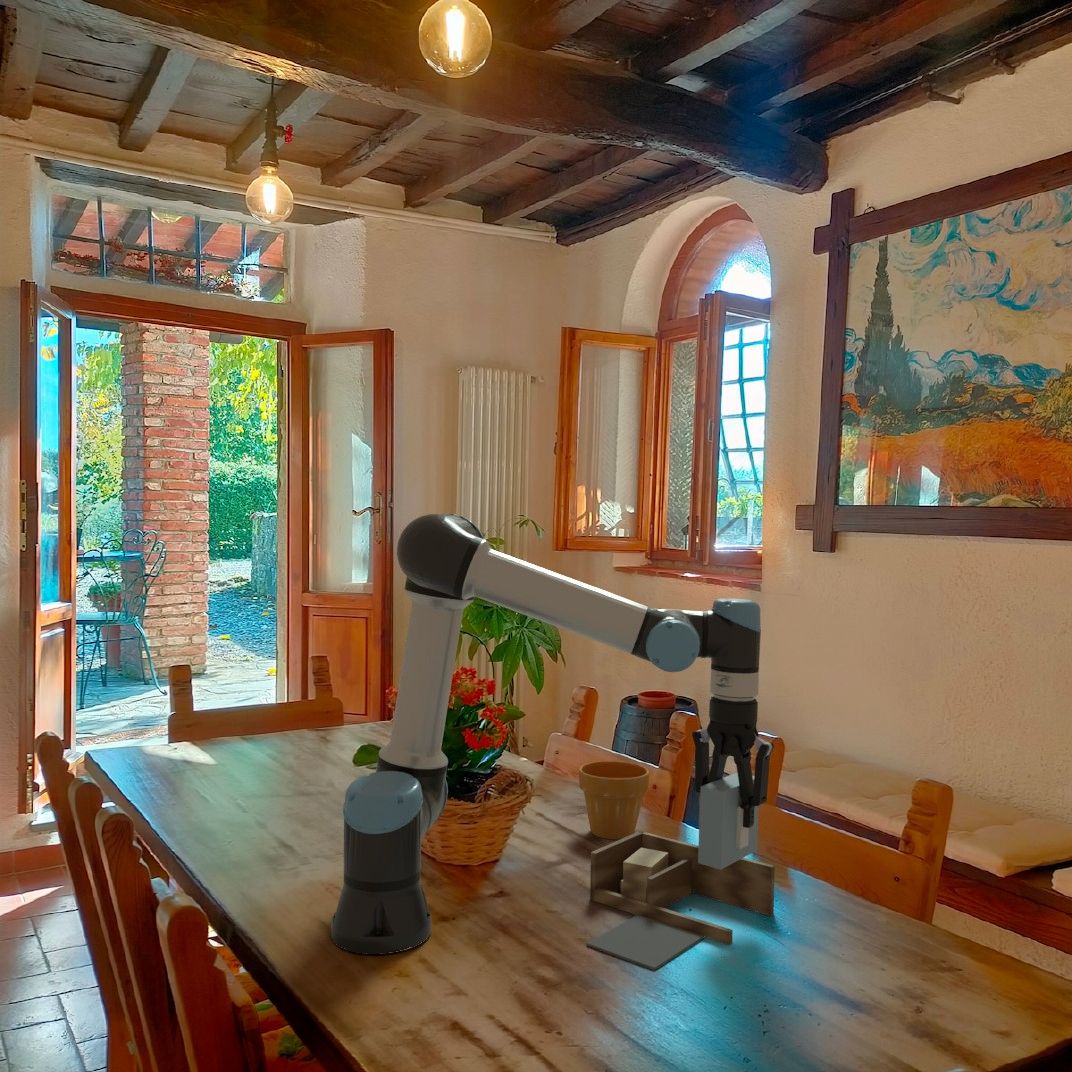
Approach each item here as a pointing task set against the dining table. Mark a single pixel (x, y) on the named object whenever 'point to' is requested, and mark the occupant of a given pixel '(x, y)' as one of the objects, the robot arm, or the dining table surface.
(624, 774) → the flower pot
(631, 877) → the offcut upper
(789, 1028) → the dining table surface
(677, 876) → the rack
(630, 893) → the offcut lower
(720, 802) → the grey rectangular block
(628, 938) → the mat
